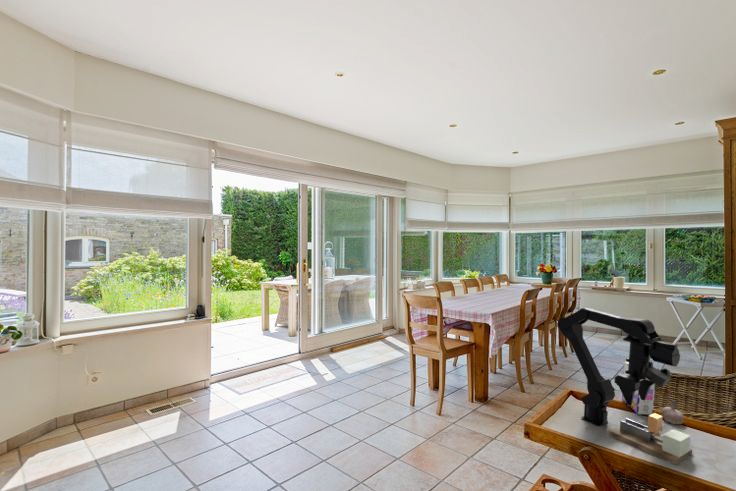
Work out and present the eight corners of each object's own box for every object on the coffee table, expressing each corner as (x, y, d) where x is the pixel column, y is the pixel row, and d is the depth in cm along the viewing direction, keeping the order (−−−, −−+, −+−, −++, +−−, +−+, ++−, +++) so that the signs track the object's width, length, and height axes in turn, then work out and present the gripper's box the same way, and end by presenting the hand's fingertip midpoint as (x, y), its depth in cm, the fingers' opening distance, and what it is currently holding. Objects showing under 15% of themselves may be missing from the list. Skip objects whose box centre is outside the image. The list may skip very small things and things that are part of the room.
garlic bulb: (670, 415, 149) (671, 395, 149) (690, 425, 142) (692, 403, 142) (655, 417, 147) (656, 396, 147) (674, 427, 140) (676, 405, 140)
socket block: (661, 450, 121) (663, 434, 121) (671, 444, 125) (673, 429, 125) (679, 457, 117) (680, 441, 117) (689, 451, 121) (690, 435, 121)
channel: (619, 429, 133) (620, 420, 133) (625, 427, 135) (626, 418, 135) (649, 442, 125) (650, 432, 125) (655, 439, 127) (656, 429, 127)
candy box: (654, 416, 147) (657, 374, 147) (636, 414, 148) (639, 372, 148) (636, 401, 161) (639, 362, 160) (620, 399, 162) (623, 360, 161)
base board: (608, 434, 132) (609, 430, 132) (626, 426, 139) (626, 422, 139) (675, 464, 116) (675, 459, 116) (691, 454, 122) (692, 449, 122)
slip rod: (640, 436, 128) (642, 413, 127) (646, 433, 130) (648, 410, 129) (677, 451, 119) (678, 427, 119) (682, 448, 121) (684, 424, 121)
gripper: (653, 369, 118) (650, 419, 119) (680, 360, 128) (676, 406, 129) (615, 358, 128) (612, 404, 128) (642, 350, 138) (639, 394, 138)
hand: (636, 402), depth 131 cm, fingers open, 9 cm apart
